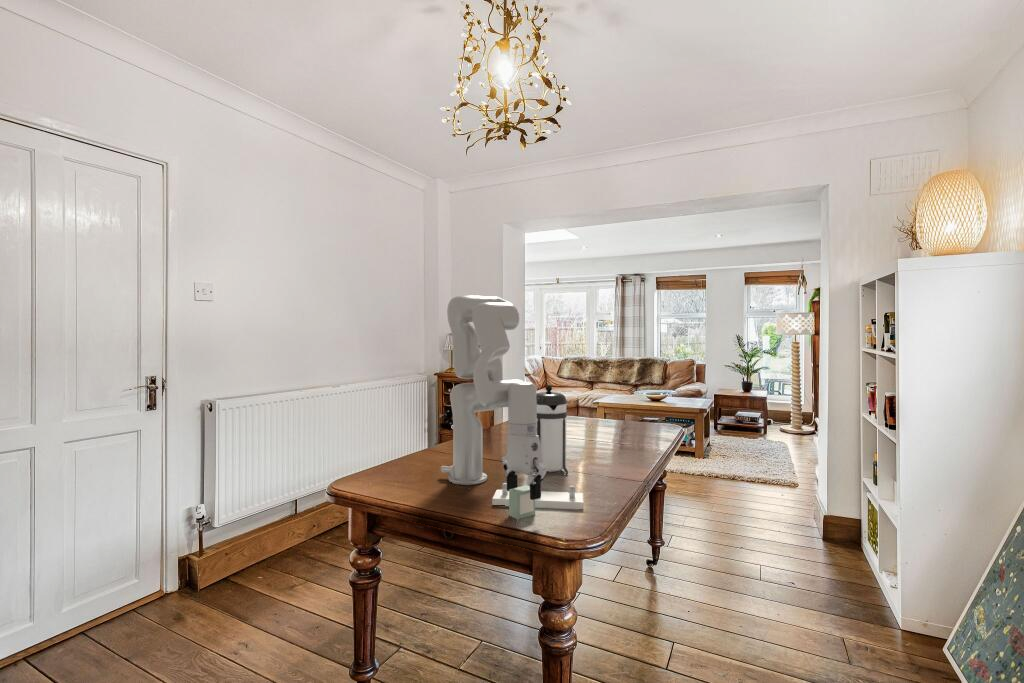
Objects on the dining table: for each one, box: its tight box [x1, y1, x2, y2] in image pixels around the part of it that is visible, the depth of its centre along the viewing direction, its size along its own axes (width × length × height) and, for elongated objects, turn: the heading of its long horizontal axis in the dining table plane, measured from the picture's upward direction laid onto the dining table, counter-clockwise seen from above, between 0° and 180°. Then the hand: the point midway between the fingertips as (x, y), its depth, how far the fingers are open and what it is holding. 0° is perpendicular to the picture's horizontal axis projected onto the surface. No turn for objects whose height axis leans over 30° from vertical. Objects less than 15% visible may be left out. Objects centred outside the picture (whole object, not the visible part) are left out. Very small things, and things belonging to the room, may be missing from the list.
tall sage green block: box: [508, 484, 536, 520], centre depth 132 cm, size 6×4×7 cm, turn 128°
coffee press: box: [536, 384, 569, 476], centre depth 174 cm, size 17×16×30 cm
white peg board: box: [491, 482, 584, 510], centre depth 141 cm, size 25×8×5 cm, turn 83°
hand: (523, 494), depth 131 cm, fingers open, 9 cm apart
